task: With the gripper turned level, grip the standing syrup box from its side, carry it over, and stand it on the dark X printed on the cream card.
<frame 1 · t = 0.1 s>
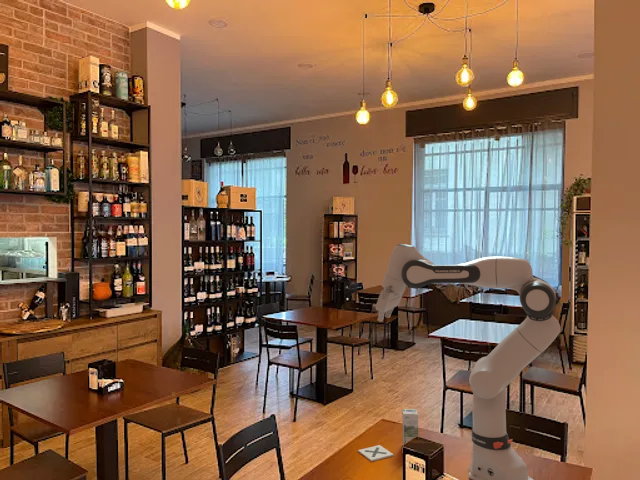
hand: (383, 319, 187), 52 cm above the table, tool tilted 20°, fingers open, 8 cm apart
letter card: (375, 453, 189), on the table
syrup box: (410, 448, 193), on the table
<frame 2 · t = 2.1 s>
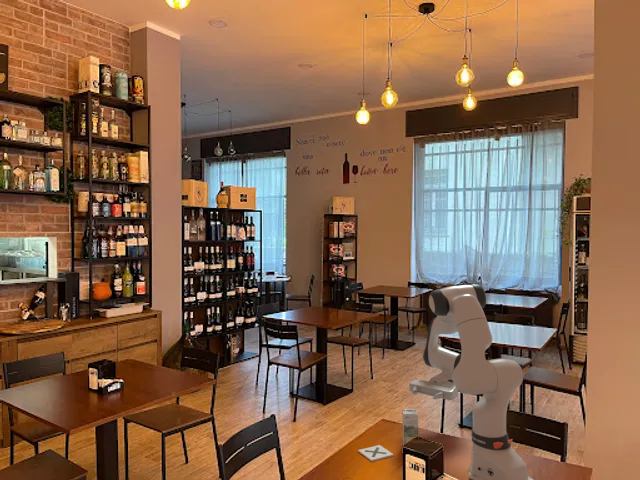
hand: (423, 394, 202), 18 cm above the table, tool horizontal, fingers open, 8 cm apart
nothing on the table moved.
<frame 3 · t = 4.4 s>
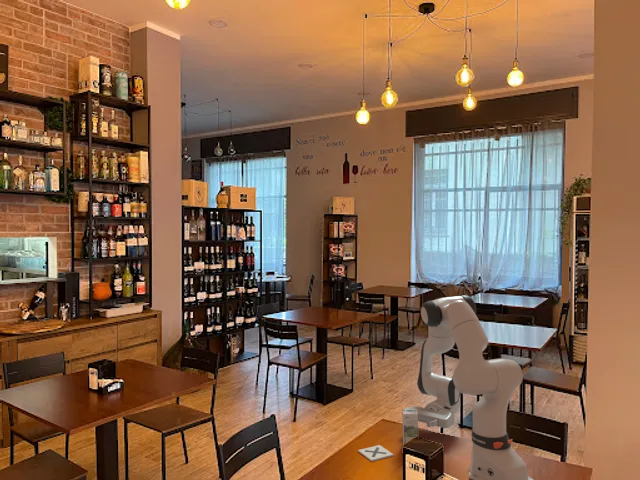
hand: (418, 422, 197), 8 cm above the table, tool horizontal, fingers open, 8 cm apart
nothing on the table moved.
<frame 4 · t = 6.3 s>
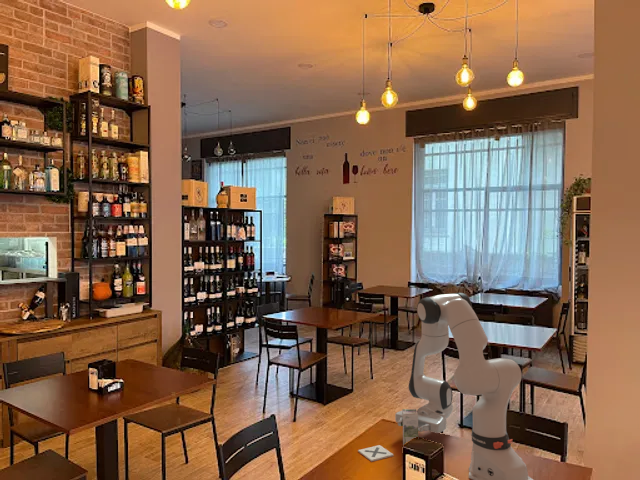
hand: (409, 426, 193), 9 cm above the table, tool horizontal, fingers closed on syrup box, 8 cm apart
syrup box: (410, 448, 193), on the table, touching gripper
when the fingers open (17 cm above the table, at t = 9.0 s): syrup box drops 6 cm, resting on letter card.
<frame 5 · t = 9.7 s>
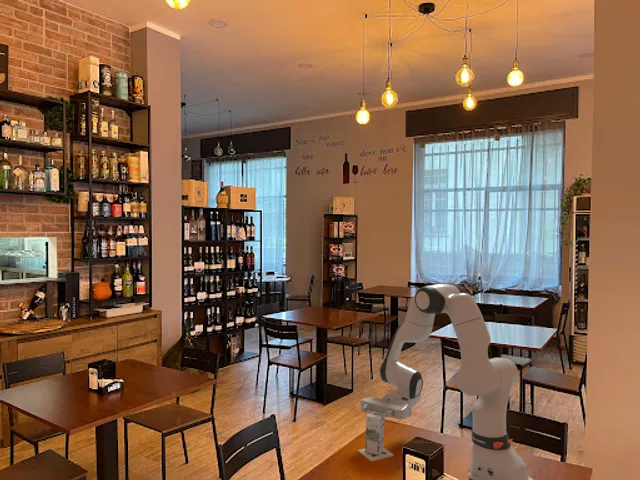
hand: (372, 412, 188), 16 cm above the table, tool horizontal, fingers open, 7 cm apart
syrup box: (374, 452, 188), point 1 cm above the table, touching gripper, letter card
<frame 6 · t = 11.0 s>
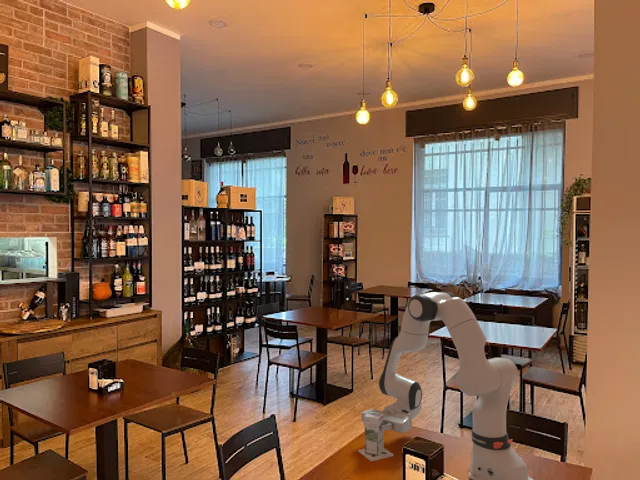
hand: (373, 426, 188), 11 cm above the table, tool horizontal, fingers closed on syrup box, 6 cm apart
syrup box: (374, 452, 189), point 1 cm above the table, touching gripper, letter card
when the fingers open (11 cm above the table, at t = 11.2 s): syrup box stays where it is, resting on letter card.
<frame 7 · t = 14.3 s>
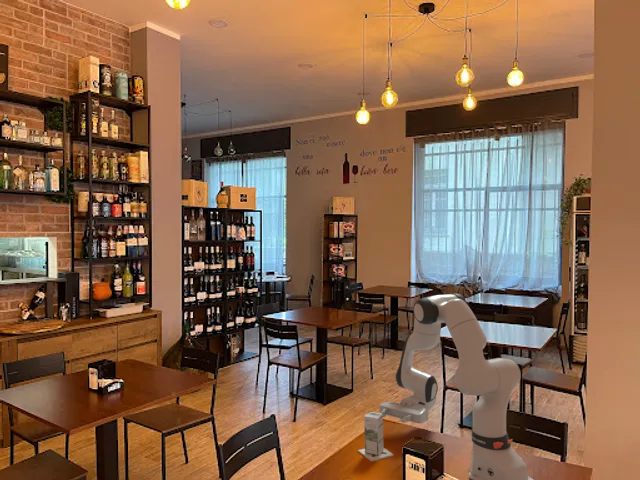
hand: (391, 417, 197), 11 cm above the table, tool horizontal, fingers open, 8 cm apart
syrup box: (374, 452, 189), resting on letter card
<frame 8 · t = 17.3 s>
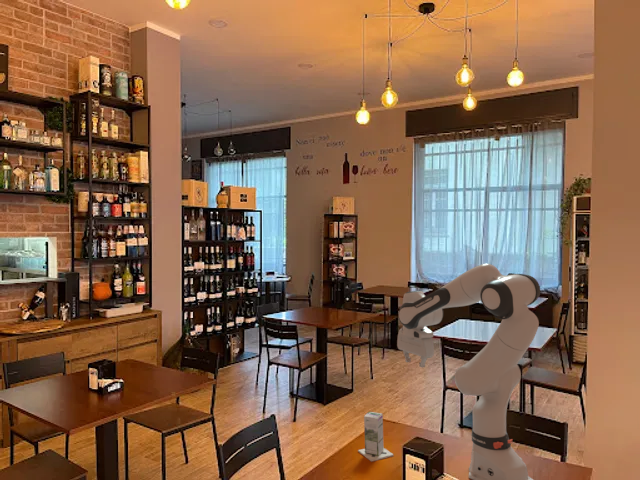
hand: (415, 364, 199), 31 cm above the table, tool pointing down, fingers open, 8 cm apart
nothing on the table moved.
at the end: syrup box 0.4 cm off-centre on the letter card, point 0.5 cm above the letter card's base; syrup box tilted 0°; the gripper is holding nothing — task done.
